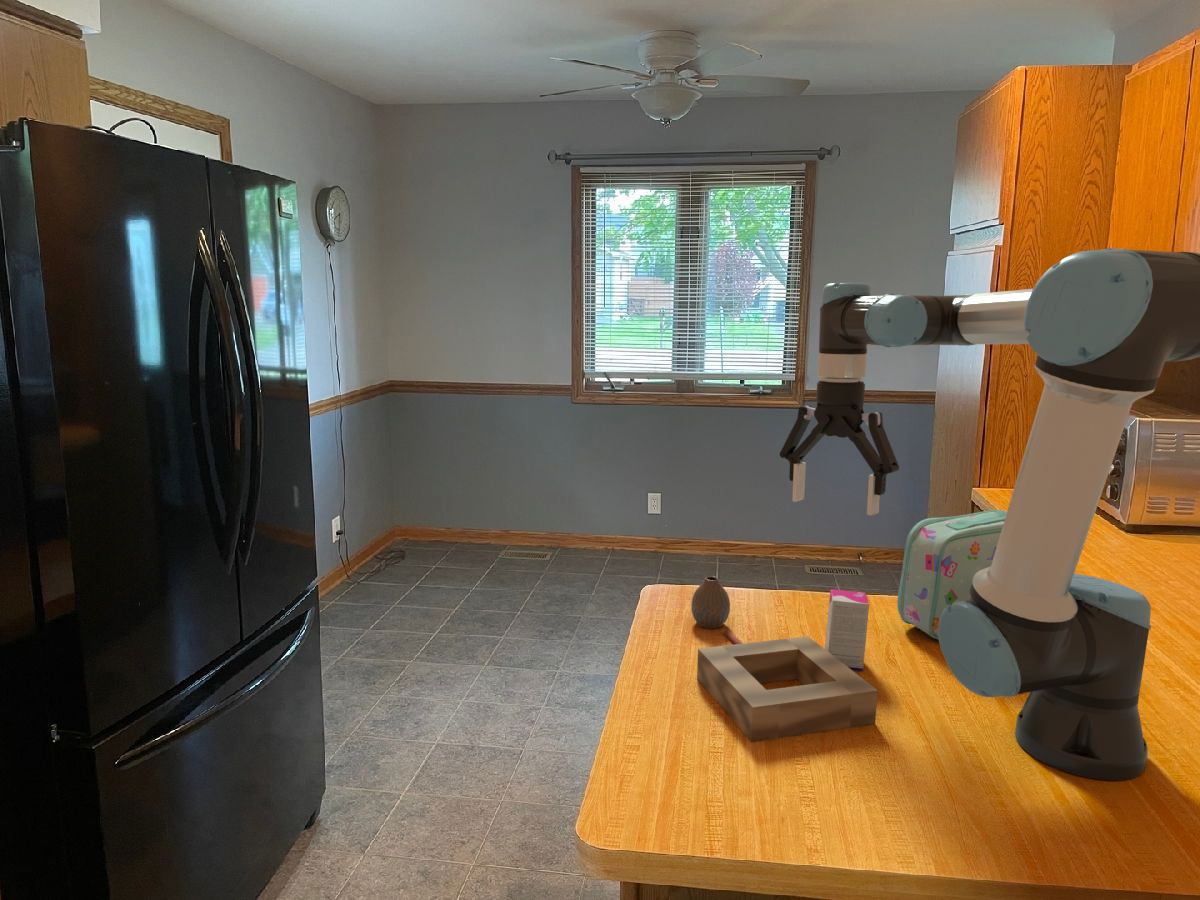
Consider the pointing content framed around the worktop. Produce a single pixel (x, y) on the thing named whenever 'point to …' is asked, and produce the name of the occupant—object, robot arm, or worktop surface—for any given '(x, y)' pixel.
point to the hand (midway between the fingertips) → (834, 507)
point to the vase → (710, 604)
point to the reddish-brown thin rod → (732, 637)
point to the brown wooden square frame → (783, 712)
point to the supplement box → (847, 627)
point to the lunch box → (944, 564)
